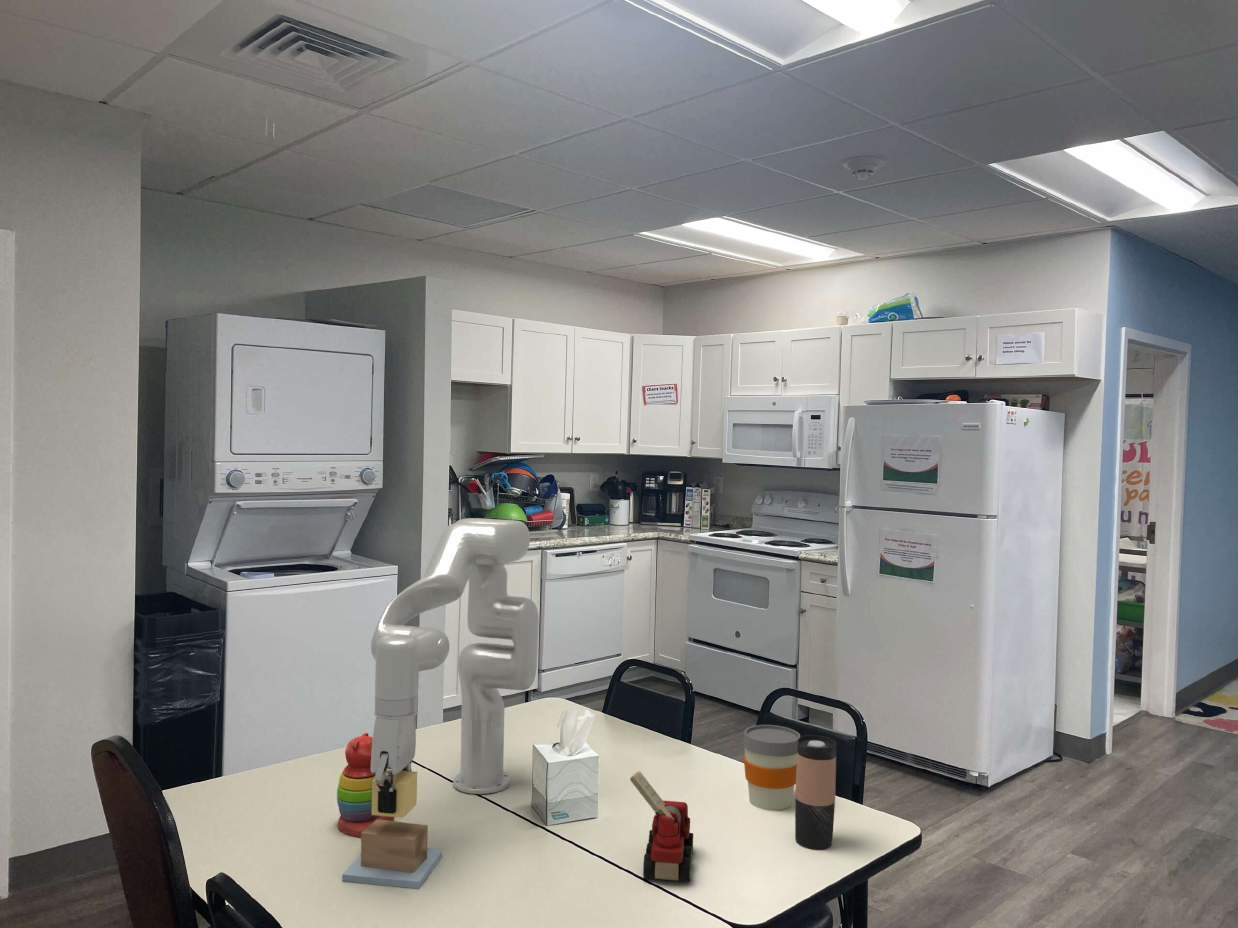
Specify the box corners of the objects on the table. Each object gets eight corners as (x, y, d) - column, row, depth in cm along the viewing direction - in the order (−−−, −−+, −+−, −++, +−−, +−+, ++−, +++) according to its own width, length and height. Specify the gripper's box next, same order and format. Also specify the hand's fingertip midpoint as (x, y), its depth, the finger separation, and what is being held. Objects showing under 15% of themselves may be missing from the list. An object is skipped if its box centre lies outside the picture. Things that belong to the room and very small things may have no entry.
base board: (370, 849, 170) (370, 843, 170) (442, 856, 168) (442, 850, 168) (342, 880, 158) (342, 874, 158) (419, 888, 156) (419, 881, 156)
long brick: (376, 850, 167) (377, 818, 167) (427, 857, 165) (427, 825, 165) (360, 865, 161) (361, 832, 161) (413, 872, 159) (413, 839, 159)
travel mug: (835, 836, 181) (838, 737, 180) (831, 853, 173) (834, 750, 173) (796, 830, 183) (799, 732, 182) (791, 846, 176) (794, 744, 175)
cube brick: (385, 801, 166) (385, 768, 166) (416, 804, 165) (417, 771, 165) (371, 814, 160) (372, 780, 160) (403, 817, 159) (404, 783, 159)
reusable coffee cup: (774, 818, 188) (776, 747, 188) (729, 799, 198) (731, 731, 197) (811, 803, 196) (813, 735, 196) (766, 785, 206) (768, 720, 205)
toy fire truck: (693, 848, 174) (696, 757, 174) (689, 888, 159) (691, 789, 158) (635, 843, 176) (637, 753, 175) (624, 882, 160) (627, 784, 160)
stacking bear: (373, 839, 174) (374, 748, 174) (325, 833, 176) (326, 743, 176) (398, 816, 185) (399, 730, 184) (352, 811, 187) (353, 725, 186)
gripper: (395, 690, 171) (393, 785, 172) (355, 718, 154) (353, 822, 154) (433, 693, 170) (431, 788, 170) (397, 721, 153) (395, 826, 153)
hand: (394, 803), depth 162 cm, fingers closed on cube brick, 6 cm apart
